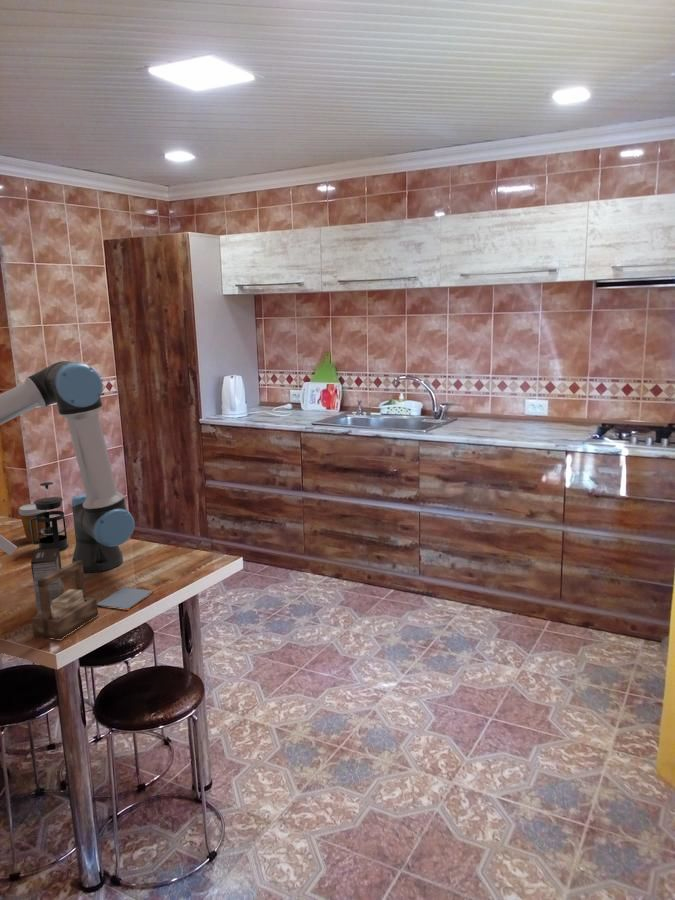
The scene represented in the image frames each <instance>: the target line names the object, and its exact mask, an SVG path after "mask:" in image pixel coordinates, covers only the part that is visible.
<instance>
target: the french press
mask: <svg viewBox="0 0 675 900" xmlns="http://www.w3.org/2000/svg"><path fill="white" fill-rule="evenodd" d="M51 485H54V483H53V482H52V481H46V482H41V483H40V484H39V486H40V487H41V486H43V487H45V489H46V495H47V496H46V497H43V498H38V499H35V501H33V503H34V504H35V505H36V509H37V510H47V512H43V513H40V514H37V515H36V517H35V518H30V528H31V536H32V542H31V543H32V544H33V545H38V550H44V549H57V548H59V551H60V552H62V550H63V551H65V550H67V549H68V548H69V543H68V537H67V526H66V518H65V517H66V516H65V512H64V511H63V510H54V509H58V508H60V507H61V506H62V502H63V500H64V498H63V497H59V496H52V497H51V496H49V490H48V489H49V486H51ZM53 515H55V516H54V517H52V516H53ZM56 515H58V516H56ZM43 516H44V518H40V517H43ZM32 520H36V525H37V534H38V541H36V542H34V535H33V526H32ZM60 520H62V522H63V523H62V524H63V526H58V521H60ZM38 522H45V528H44V529H42V530H40V531H39V526H38ZM62 533H64V534H62ZM40 535H42V536H46V537H43V538H41V539H40Z"/></svg>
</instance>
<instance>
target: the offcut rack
mask: <svg viewBox="0 0 675 900" xmlns="http://www.w3.org/2000/svg"><path fill="white" fill-rule="evenodd" d="M71 573H74V578H75V589H71V588H69V589H67V590H65V591H64V593H63V594H61V595H60V596H59V597H57V598H56V599H54V600H53V601H52V605H51V606H50V597H49V589H48V585H49V584H50V583H52V582H54V581H56V580H58V579H60V578H62V577H63V578H64V577H65V576H67V575H69V574H71ZM85 583H86V582H85V572H83V563H82V561H80V560H77V561H75V562H73V563H72V562H71V563H70V564H68V565H65V566H64V567H61V569H59V570H58V571H56V572H54V573H52V574H50V575H48V576H46V577H44V578H42V579H40V580H38V587H39V595H40V603H41V613H39V614H38V615H37V614H36V615H35V616H33V617H31V623H32V631H33V632H32V633H33V637H34V636H37V637H36V638H38V637H44V638H54V639H62V638H63V637H64V636H66V635H67V634H69V633H71V632H72V631H74V630H75V629H77V628H78V627H80V626H81V625H83V624H84V623H86V622H88V621H89V620H91V619H92V618H94V617H96V616H97V615H98V616H99V611H98V608H99V607H97V604H98V599H97V598H95V597H88V596H87V591H86V584H85ZM44 638H43V639H44Z"/></svg>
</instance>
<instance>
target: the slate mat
mask: <svg viewBox="0 0 675 900" xmlns="http://www.w3.org/2000/svg"><path fill="white" fill-rule="evenodd" d="M152 591H153V590H149V589H147V590H146V589H142V588H141V589H140V588H132V587H125V586H123V587H122V588H121V589H119V590H117V591H115V592H114V593H113V594H110V595H109V596H108V597H106V598H104V599H103V600H101V601H100V602H97V606H105V607H116V608H125V609H128V608H130V607H131V606H133V605H134V604H136V603H137V602H139V601H140V600H142V599H143V598H145V597H146V596H147V595H149V594H150V593H152ZM149 592H150V593H149ZM148 593H149V594H148Z"/></svg>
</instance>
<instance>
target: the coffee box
mask: <svg viewBox="0 0 675 900" xmlns="http://www.w3.org/2000/svg"><path fill="white" fill-rule="evenodd" d="M60 552H61V551H59V548H57V549H44V550H39V549H38V550H34V551H33V554H32V558H31V561H30V566H31V572H32V573H31V574H32V575H31V576H32V581H33V591H34V592H33V593H34V598H35V607H36V609H35V610H36V615H38V614H39V613H41V603H40V595H39V587H38V580H40V579H42V578H44V577H46V576H48V575H50V574H52V573H54V572H56V571H58V570H59V569H61V568H62V560H61V553H60ZM64 585H65V584H64V577H62V578H60V579H58V580H56V581H54V582H52V583H50V584H49V585H48V589H49V597H50V606H51V605H52V601H53V600H54V599H56V598H57V597H59V596H60V595H61V594H63V593H64V592H65V586H64Z"/></svg>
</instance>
